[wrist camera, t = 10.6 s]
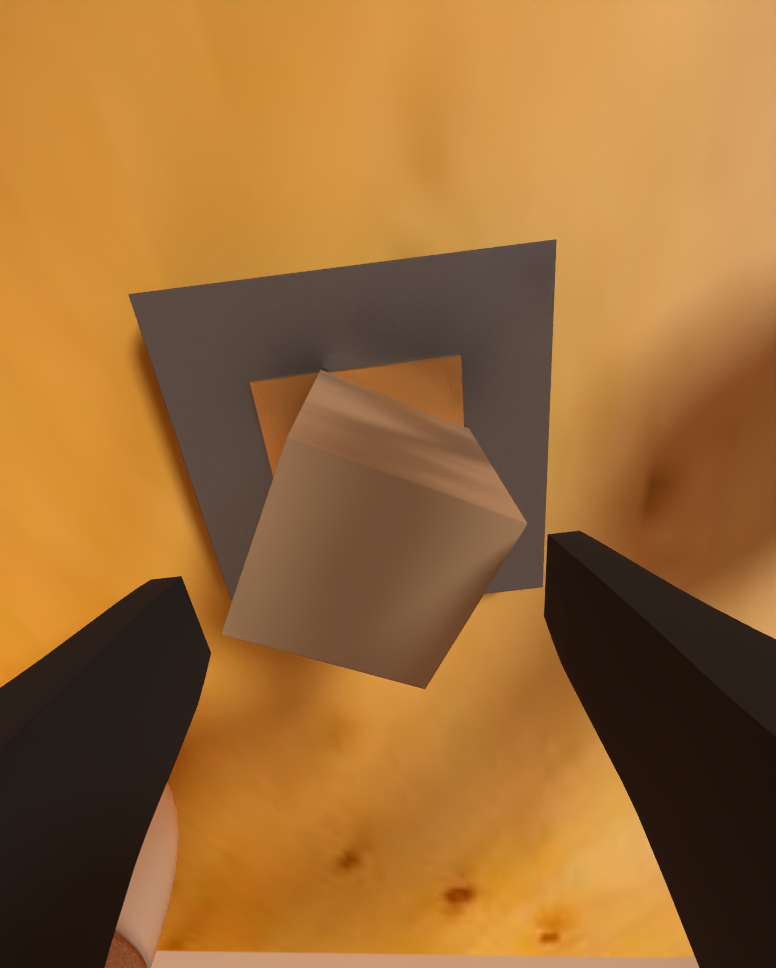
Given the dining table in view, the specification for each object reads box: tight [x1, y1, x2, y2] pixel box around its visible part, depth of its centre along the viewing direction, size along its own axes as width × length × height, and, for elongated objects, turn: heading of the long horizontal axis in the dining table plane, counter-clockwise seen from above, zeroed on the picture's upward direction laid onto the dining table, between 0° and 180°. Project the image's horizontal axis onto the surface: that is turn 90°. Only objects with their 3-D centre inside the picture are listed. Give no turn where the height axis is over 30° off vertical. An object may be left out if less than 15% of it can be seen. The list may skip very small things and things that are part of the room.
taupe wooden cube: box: [221, 370, 527, 689], centre depth 12 cm, size 5×5×6 cm
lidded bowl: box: [105, 781, 179, 968], centre depth 19 cm, size 13×13×11 cm
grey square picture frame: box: [128, 240, 556, 601], centre depth 16 cm, size 12×12×2 cm
